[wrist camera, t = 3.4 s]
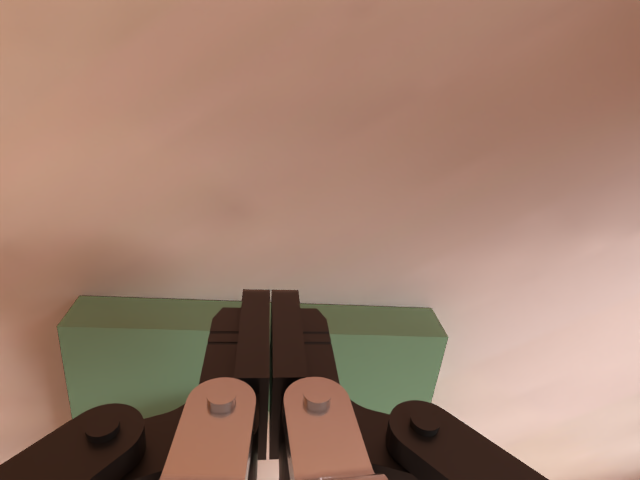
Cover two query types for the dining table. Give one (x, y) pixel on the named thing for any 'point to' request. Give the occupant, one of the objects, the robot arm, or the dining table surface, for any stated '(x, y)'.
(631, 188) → the dining table surface
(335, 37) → the dining table surface
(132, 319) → the putting mat
